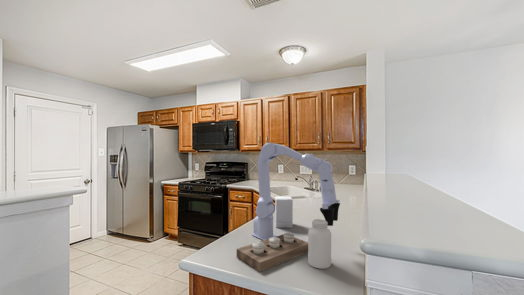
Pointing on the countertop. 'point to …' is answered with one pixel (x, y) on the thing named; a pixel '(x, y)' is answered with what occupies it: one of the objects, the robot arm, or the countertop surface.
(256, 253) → the outer knob
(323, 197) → the robot arm
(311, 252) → the pill bottle
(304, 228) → the countertop surface
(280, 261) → the knob board
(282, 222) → the supplement box
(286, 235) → the outer knob
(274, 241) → the middle knob
